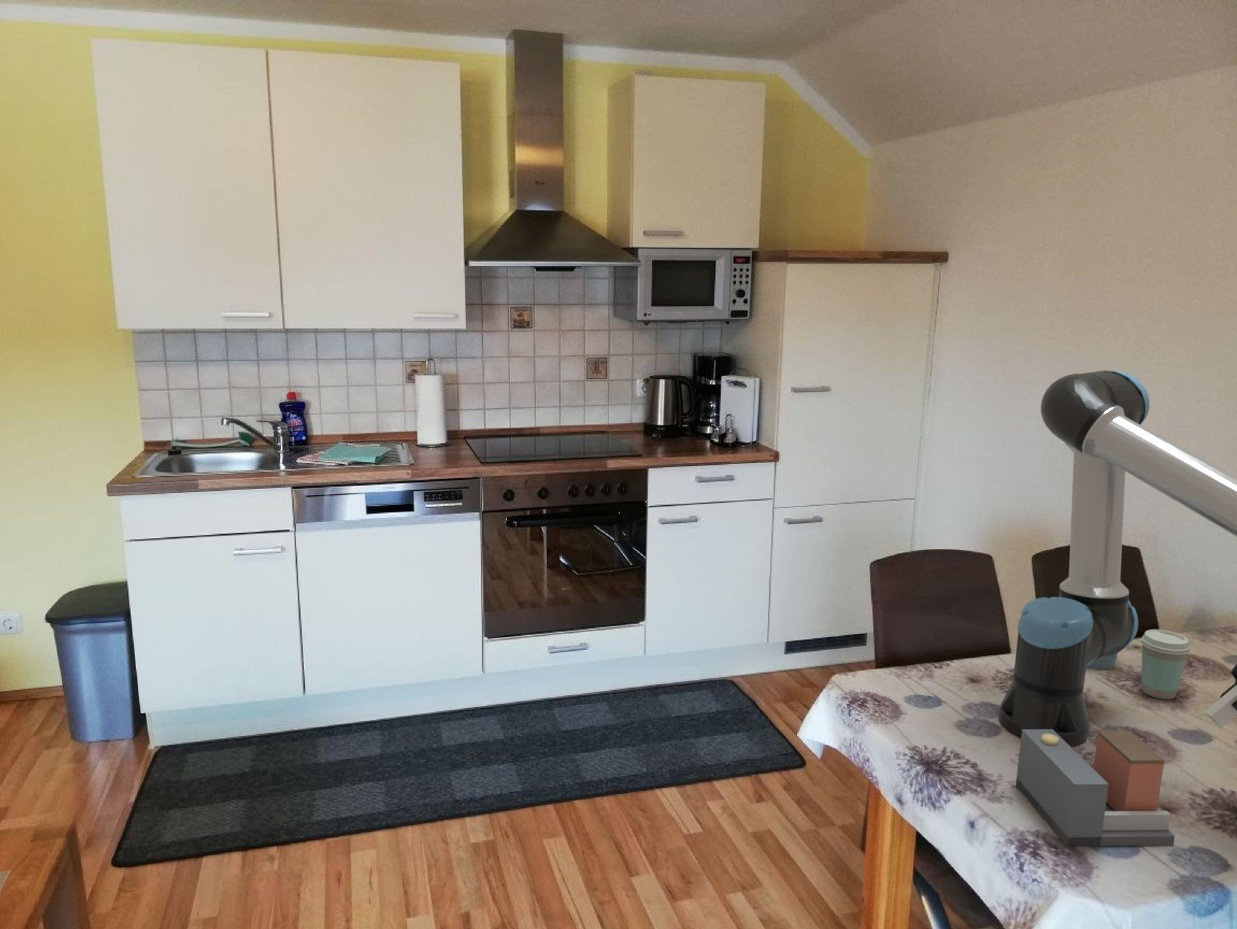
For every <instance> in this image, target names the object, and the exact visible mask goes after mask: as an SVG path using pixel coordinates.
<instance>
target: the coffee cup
mask: <svg viewBox="0 0 1237 929" xmlns="http://www.w3.org/2000/svg"><path fill="white" fill-rule="evenodd" d="M1140 644H1141V691H1142V692H1143V693H1144V694H1146V695H1148V696H1150V697H1153V698H1156V699H1160V700H1161V699H1162V700H1173V699H1174V698H1176V695H1177V693H1178V692H1177V691H1178V688H1179V685H1180V681H1181V678H1182V675H1183V671H1184V669H1185V665H1186V662H1187V657H1188V654H1190V653H1191V645H1190V642H1189V639H1188V638H1187V637H1186V636H1184V635H1182V634H1180V633H1177V632H1174V631H1172V630H1164V629H1149V630H1146V631H1145V632H1144V634H1143V635H1142V637H1141V639H1140Z"/></svg>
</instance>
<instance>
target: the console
mask: <svg viewBox="0 0 1237 929" xmlns="http://www.w3.org/2000/svg"><path fill="white" fill-rule="evenodd" d="M1019 746H1020V747H1019V753H1018V762H1017V770H1016V771H1017V772H1016V779H1015V787H1016V788H1017V789H1018V790H1019V791H1020V793H1021V794H1022V795H1023V797H1025V799H1026V800H1027V801H1028V802H1029V803H1030V805H1031V806H1032V807H1033V808H1034V809H1035V811H1036V813H1037V814H1039V815H1040V817H1041V818H1042V819H1043V820H1044V821H1045V822H1046V824H1047V825H1048V826H1049V827H1050V829H1051V830H1052V831H1053V832H1054V833H1055V835H1057V837H1058V838H1059V840H1061V842H1062V843H1063V845H1065V846H1066V847H1119V846H1120V847H1123V846H1124V847H1125V846H1126V847H1129V846H1130V847H1133V846H1138V847H1140V846H1174V845H1175V838H1176V836H1175V835H1174V833H1173V832H1172V831H1170V830H1169V829H1170V825H1171V824H1170V823H1171V816H1172V815H1171V813H1170V812H1169V811H1167V810H1157V811H1115V810H1114V809H1113V808H1112V807H1111V806H1110V805H1109V804H1108V803H1107V802H1106V800H1107V793H1108V786H1109V784H1108V783H1107V782H1106V781H1105V780H1104V779H1103V778H1102V777H1101V776H1100V775H1099V774H1098V773H1097V772H1096V771H1095V770H1094V769H1093V768H1094V767H1092V766H1091V765H1089V763H1087V761H1086V760H1085V759H1084V758H1082V756H1081V755H1079V753H1078V752H1076V750H1075V749H1073V747H1072V746H1069V745H1068V744H1067V743H1066V742H1065V741H1064V740H1063V739H1062V738H1061V737H1060V736H1059V735H1058V734H1057V733H1056V732H1055V731H1054V730H1053V729H1022V735H1021V737H1020V745H1019Z"/></svg>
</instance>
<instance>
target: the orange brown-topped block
mask: <svg viewBox="0 0 1237 929" xmlns="http://www.w3.org/2000/svg"><path fill="white" fill-rule="evenodd" d="M1093 760H1094V762H1093V767H1092V768H1093V769H1094V770H1095V771H1096V772H1097V773H1098V774H1099V775H1100V776H1101V777H1102V778H1103V779H1104V780H1105V781H1106V782H1107V783H1108V784H1109V786H1108V793H1107V800H1106V802H1107V803H1108V804H1109V805H1110V806H1111V807H1112V808H1113V809H1114V810H1115V811H1158V805H1159V799H1160V798H1159V797H1160V791H1161V784H1162V780H1163V779H1162V778H1163V773H1164V768H1165V767H1164V766H1165V759H1164V758H1163V757H1161V756H1160V755H1159V754H1158V753H1156V752H1155V751H1154V750H1153V749H1152V748H1151V747H1149V745H1147V744H1146V743H1145V742H1144V741H1143V740H1141V739H1140V738H1139V737H1138V736H1136V735H1135V734H1134V733H1133V732H1131V731H1130V730H1098V731H1097V738H1096V746H1095V753H1094V759H1093Z"/></svg>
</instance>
